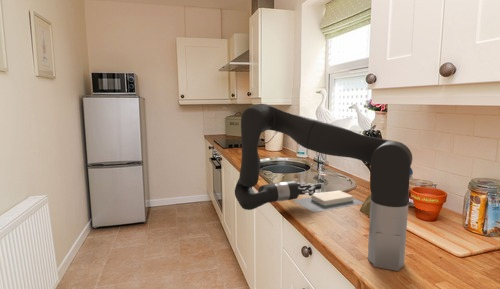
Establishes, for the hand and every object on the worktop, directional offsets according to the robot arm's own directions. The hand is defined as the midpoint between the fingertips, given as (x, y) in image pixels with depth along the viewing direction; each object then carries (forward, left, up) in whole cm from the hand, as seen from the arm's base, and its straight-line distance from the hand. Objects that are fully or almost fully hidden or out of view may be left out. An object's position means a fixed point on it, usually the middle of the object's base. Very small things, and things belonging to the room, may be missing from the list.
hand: (320, 185), depth 125 cm
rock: (-6, -21, -9) cm, 24 cm away
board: (+3, -3, -9) cm, 10 cm away
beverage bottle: (+18, -32, -9) cm, 38 cm away
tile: (-1, +1, -6) cm, 6 cm away
